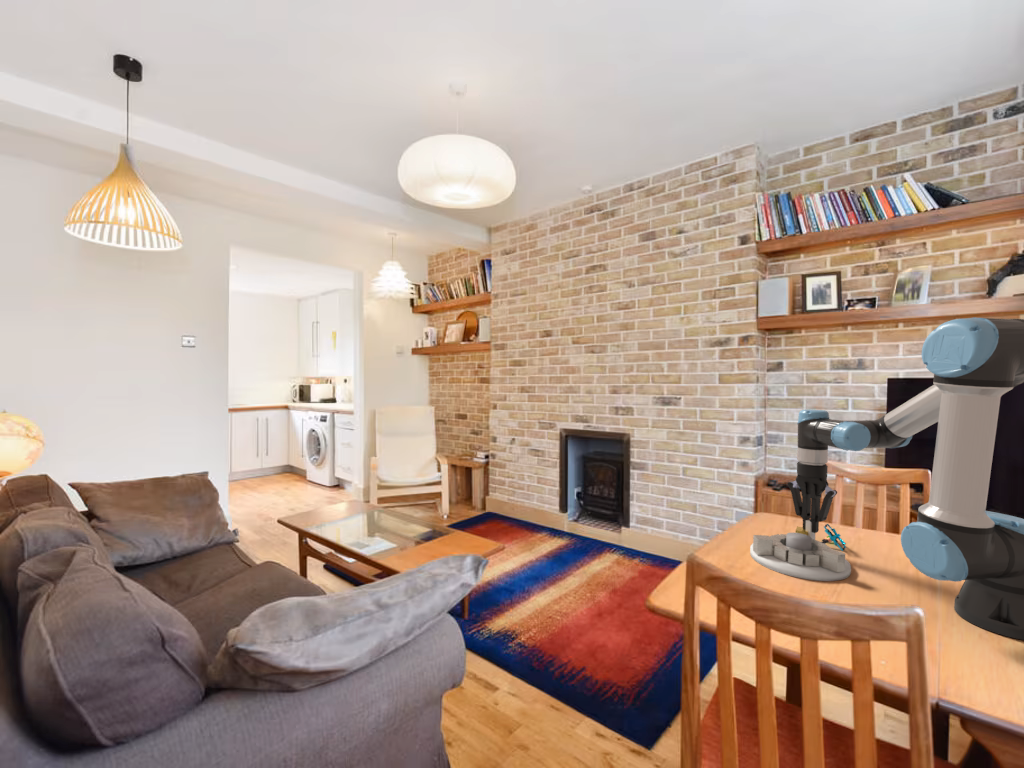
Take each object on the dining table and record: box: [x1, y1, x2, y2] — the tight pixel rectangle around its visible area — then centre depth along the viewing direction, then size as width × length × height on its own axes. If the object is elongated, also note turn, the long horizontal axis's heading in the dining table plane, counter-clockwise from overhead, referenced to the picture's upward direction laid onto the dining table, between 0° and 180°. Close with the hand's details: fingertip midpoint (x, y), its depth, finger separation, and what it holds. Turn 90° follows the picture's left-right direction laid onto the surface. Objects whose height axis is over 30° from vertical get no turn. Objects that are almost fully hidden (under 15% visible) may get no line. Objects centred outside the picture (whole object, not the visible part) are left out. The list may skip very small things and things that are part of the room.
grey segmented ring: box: [752, 526, 846, 573], centre depth 133 cm, size 21×19×4 cm
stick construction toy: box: [821, 523, 847, 552], centre depth 143 cm, size 12×7×8 cm
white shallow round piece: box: [749, 532, 852, 582], centre depth 131 cm, size 24×24×7 cm
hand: (810, 542), depth 138 cm, fingers closed
